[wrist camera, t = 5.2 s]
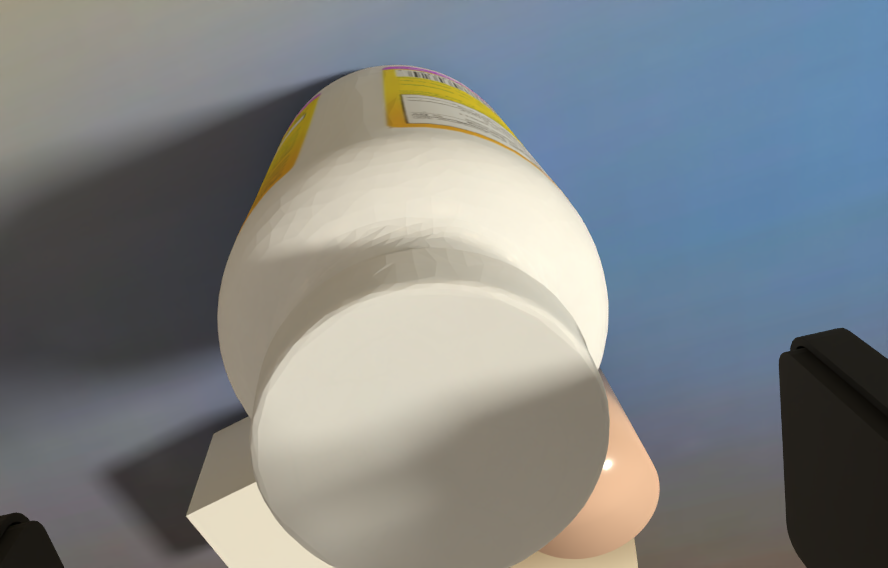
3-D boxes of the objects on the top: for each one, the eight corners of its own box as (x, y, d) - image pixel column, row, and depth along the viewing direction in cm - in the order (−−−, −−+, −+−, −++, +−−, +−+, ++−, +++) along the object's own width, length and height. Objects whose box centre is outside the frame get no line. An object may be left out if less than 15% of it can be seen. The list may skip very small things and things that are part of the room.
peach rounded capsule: (473, 359, 24) (496, 453, 19) (599, 331, 24) (652, 419, 19) (495, 462, 26) (521, 572, 21) (613, 436, 26) (665, 540, 21)
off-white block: (214, 432, 24) (186, 516, 21) (325, 377, 24) (316, 452, 20) (281, 520, 26) (266, 612, 22) (387, 469, 26) (388, 555, 22)
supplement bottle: (325, 319, 23) (276, 696, 11) (239, 105, 20) (57, 305, 9) (541, 252, 23) (720, 568, 11) (481, 27, 20) (632, 125, 8)
